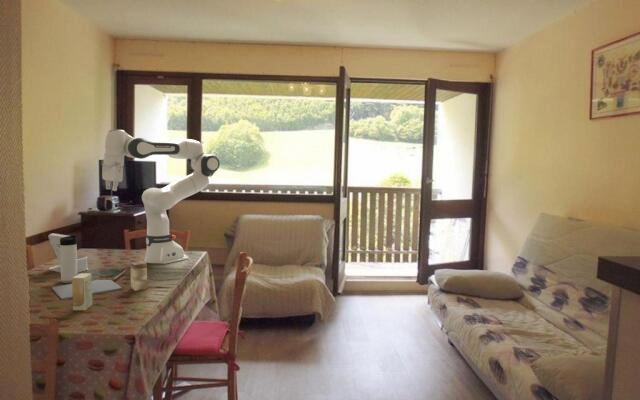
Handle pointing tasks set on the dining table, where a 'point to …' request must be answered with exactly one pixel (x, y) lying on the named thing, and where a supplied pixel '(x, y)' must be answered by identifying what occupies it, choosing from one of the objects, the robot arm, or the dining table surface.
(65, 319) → the dining table surface
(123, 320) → the dining table surface
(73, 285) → the skincare box
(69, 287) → the grey mat
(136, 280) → the birch block
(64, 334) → the dining table surface
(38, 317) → the dining table surface
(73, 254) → the travel mug
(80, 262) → the phone holder
